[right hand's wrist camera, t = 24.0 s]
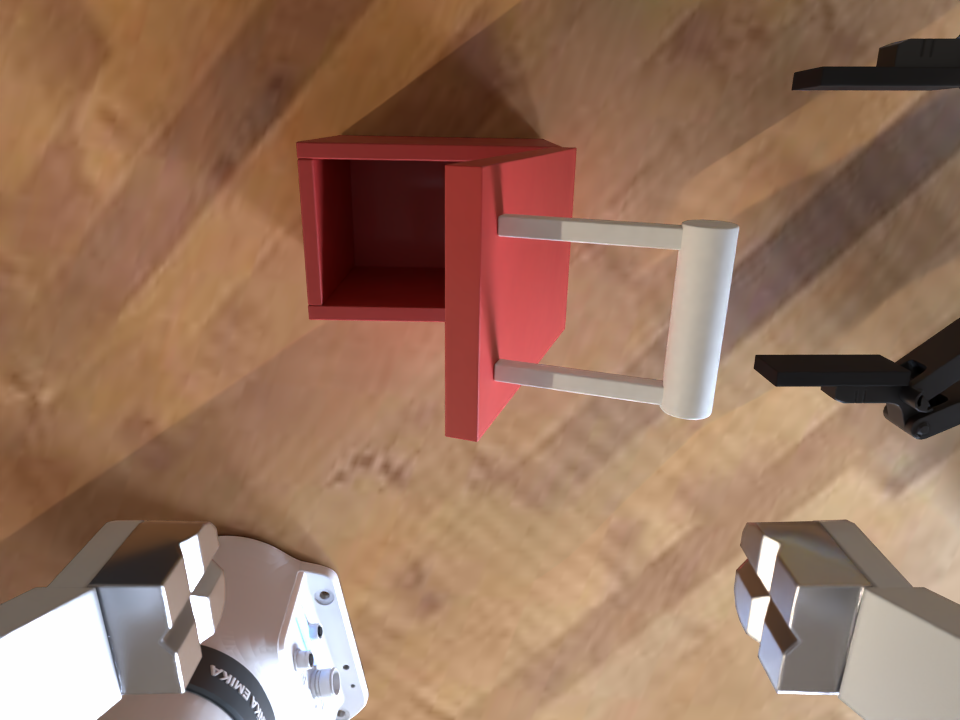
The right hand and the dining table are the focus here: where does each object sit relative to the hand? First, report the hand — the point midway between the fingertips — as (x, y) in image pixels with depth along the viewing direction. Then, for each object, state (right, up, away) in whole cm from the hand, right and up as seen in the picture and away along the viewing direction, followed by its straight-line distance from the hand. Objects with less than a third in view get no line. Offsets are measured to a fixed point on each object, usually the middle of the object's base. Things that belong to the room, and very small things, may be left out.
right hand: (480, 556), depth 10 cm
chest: (-3, +14, +36) cm, 39 cm away
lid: (+1, +7, +19) cm, 20 cm away
